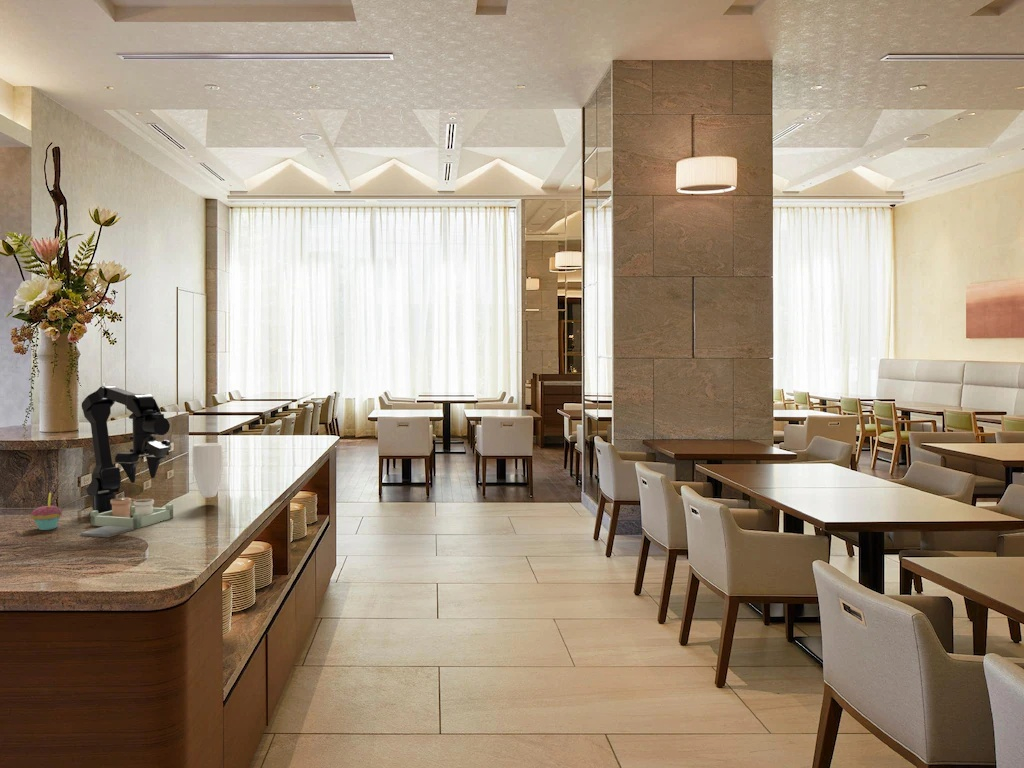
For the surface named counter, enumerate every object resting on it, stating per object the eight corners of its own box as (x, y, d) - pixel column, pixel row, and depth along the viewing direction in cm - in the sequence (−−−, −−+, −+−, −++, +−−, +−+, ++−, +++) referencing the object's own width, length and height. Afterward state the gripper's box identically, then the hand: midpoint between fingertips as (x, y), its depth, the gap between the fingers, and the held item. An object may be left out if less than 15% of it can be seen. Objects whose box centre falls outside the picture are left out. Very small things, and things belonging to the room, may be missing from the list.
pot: (129, 523, 253) (129, 501, 253) (143, 519, 259) (142, 498, 259) (145, 524, 251) (144, 502, 251) (158, 520, 257) (158, 499, 257)
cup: (186, 506, 281) (185, 445, 280) (208, 500, 290) (206, 442, 289) (209, 508, 277) (208, 446, 276) (230, 502, 286) (229, 443, 285)
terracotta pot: (106, 522, 256) (106, 500, 255) (120, 518, 261) (120, 496, 261) (122, 523, 254) (121, 501, 254) (135, 519, 260) (135, 497, 259)
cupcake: (69, 526, 250) (67, 488, 249) (45, 532, 242) (43, 493, 241) (48, 524, 253) (47, 487, 252) (24, 530, 245) (23, 491, 244)
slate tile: (80, 535, 238) (80, 532, 238) (106, 528, 247) (106, 525, 247) (107, 537, 235) (107, 534, 235) (132, 529, 244) (132, 527, 244)
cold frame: (90, 525, 251) (90, 511, 251) (128, 514, 267) (128, 501, 266) (137, 528, 246) (137, 514, 246) (173, 517, 262) (172, 504, 261)
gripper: (143, 437, 248) (143, 487, 249) (182, 430, 266) (182, 477, 267) (113, 436, 251) (114, 484, 252) (154, 429, 269) (154, 475, 270)
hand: (143, 480), depth 260 cm, fingers open, 9 cm apart
